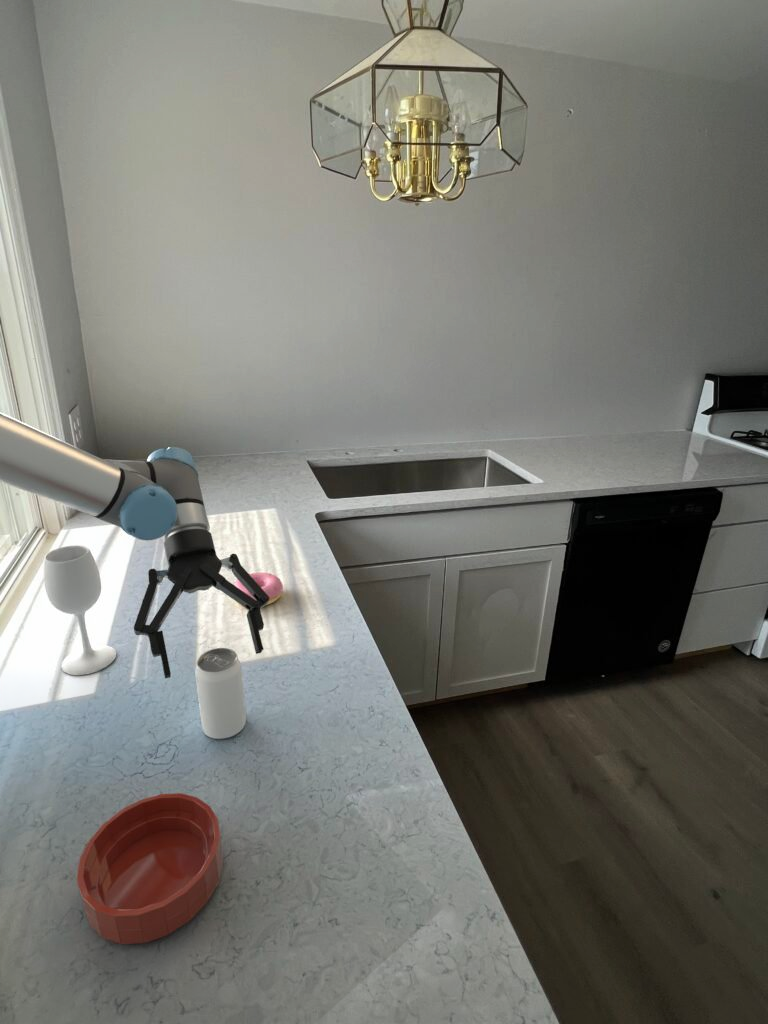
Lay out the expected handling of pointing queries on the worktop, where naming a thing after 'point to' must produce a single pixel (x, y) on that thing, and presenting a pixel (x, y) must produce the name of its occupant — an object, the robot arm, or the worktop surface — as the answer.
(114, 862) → the bowl
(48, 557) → the wineglass
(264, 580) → the doughnut
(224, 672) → the can
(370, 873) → the worktop surface
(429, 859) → the worktop surface
